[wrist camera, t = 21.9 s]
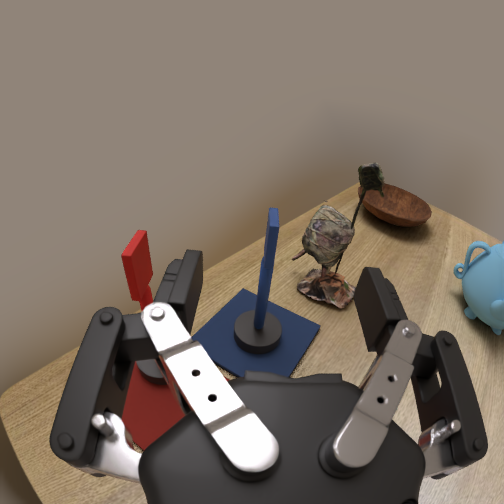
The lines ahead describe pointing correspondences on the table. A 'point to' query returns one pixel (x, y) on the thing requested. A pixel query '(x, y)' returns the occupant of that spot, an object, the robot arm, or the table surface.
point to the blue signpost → (261, 302)
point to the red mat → (149, 409)
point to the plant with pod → (334, 244)
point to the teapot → (484, 284)
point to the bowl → (396, 206)
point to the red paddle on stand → (141, 291)
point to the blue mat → (237, 360)
